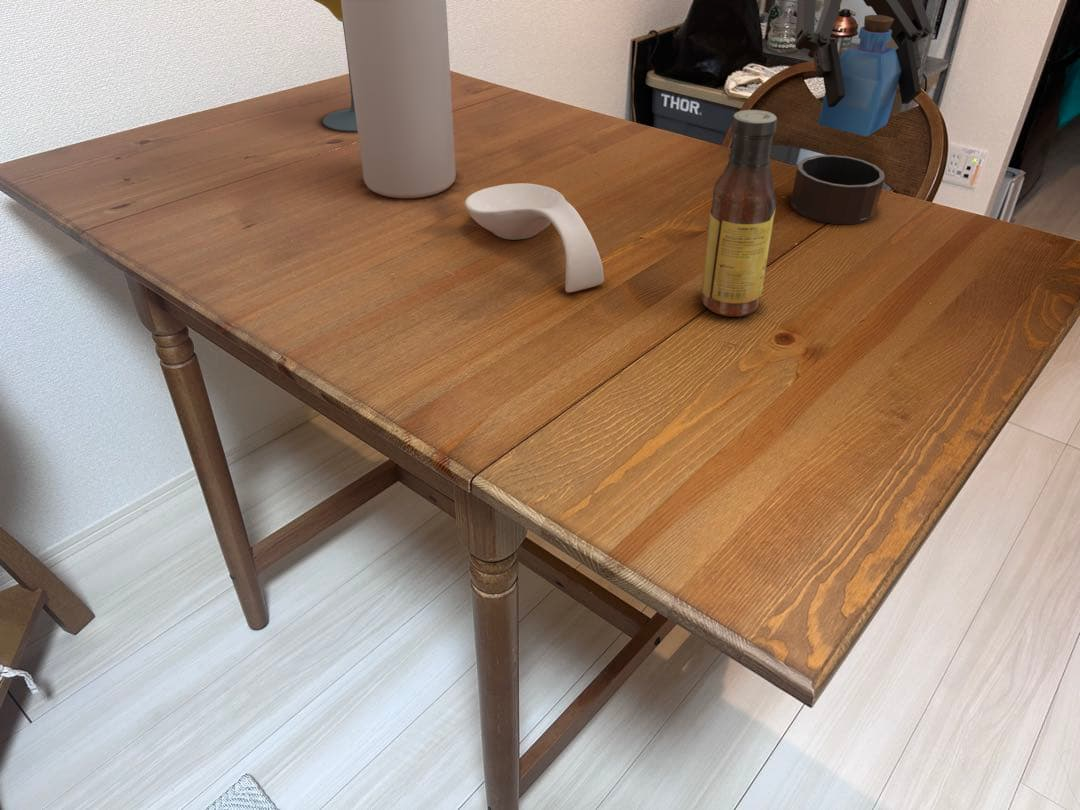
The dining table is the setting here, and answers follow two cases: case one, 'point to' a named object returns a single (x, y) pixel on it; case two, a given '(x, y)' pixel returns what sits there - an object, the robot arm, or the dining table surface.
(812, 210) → the dark brown round bowl
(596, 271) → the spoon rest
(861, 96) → the perfume bottle
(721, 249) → the sauce bottle
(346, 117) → the cocktail glass
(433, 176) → the cylinder vase
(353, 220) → the dining table surface
